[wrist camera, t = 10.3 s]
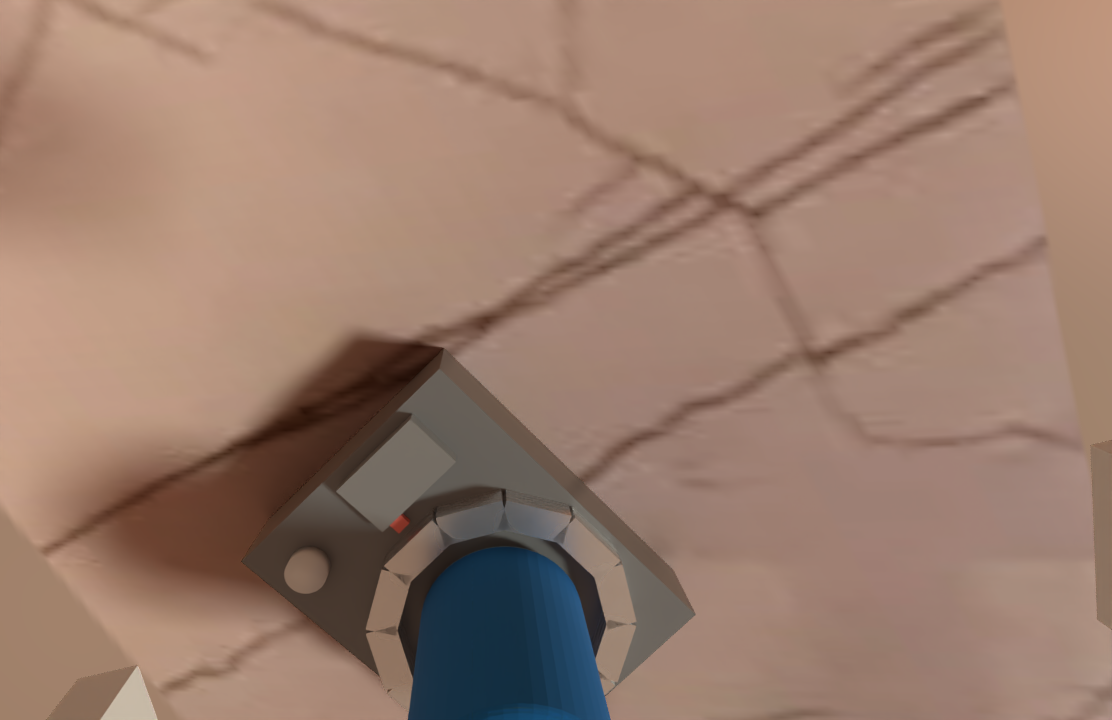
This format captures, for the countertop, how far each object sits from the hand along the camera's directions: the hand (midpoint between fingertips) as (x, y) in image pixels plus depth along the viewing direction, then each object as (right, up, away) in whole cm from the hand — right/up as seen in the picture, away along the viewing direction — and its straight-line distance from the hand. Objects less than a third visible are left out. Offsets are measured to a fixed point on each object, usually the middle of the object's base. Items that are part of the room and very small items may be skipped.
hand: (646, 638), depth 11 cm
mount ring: (-3, -7, +22) cm, 23 cm away
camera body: (-5, -5, +26) cm, 27 cm away
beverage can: (-3, -6, +22) cm, 23 cm away
